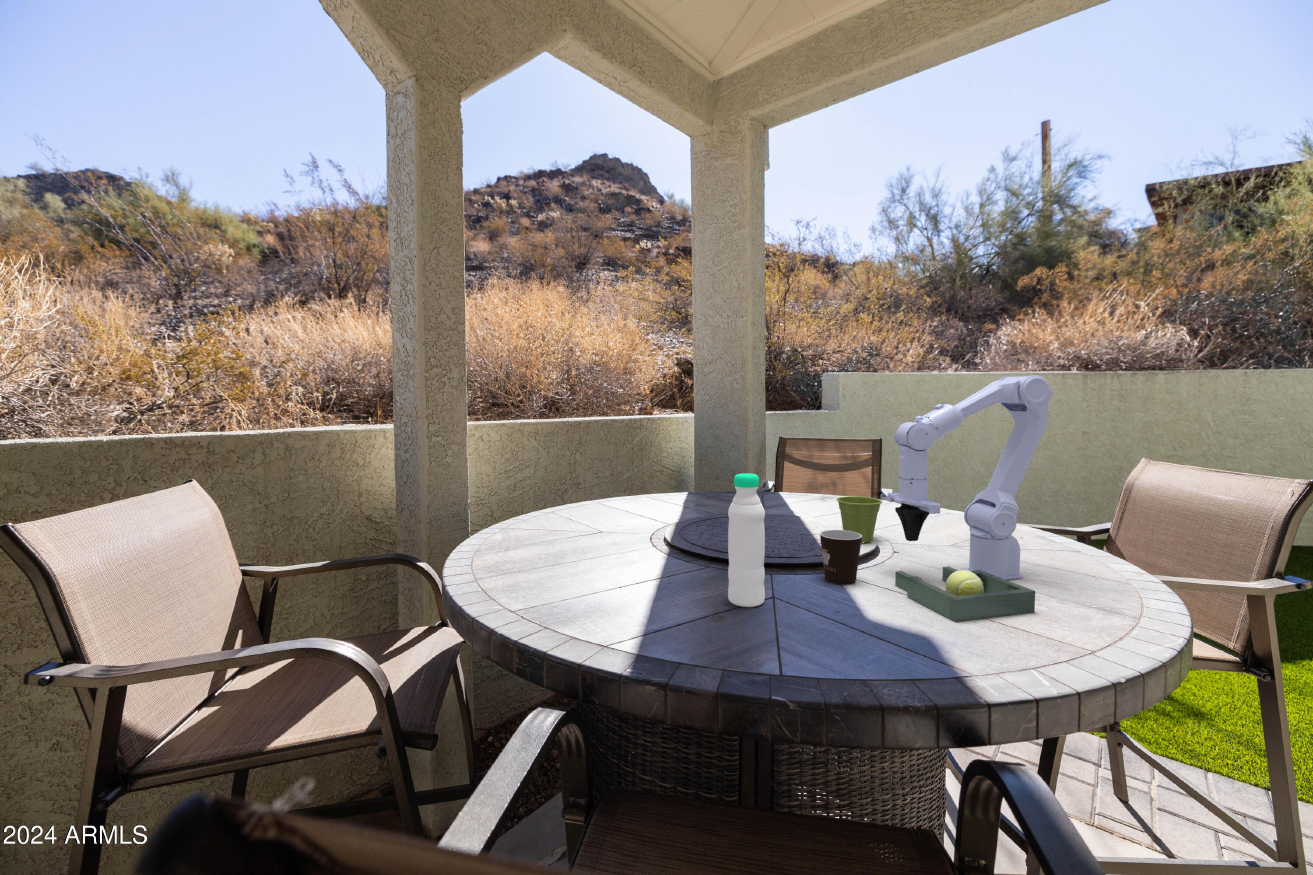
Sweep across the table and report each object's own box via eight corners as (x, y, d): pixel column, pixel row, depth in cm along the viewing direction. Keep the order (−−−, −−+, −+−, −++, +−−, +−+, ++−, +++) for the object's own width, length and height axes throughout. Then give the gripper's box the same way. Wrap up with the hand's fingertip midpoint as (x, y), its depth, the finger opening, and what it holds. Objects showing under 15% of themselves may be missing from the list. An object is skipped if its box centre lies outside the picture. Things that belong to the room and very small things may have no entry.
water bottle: (767, 597, 116) (767, 472, 114) (761, 609, 109) (762, 477, 107) (732, 593, 118) (732, 471, 116) (724, 605, 112) (724, 476, 110)
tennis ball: (990, 573, 108) (968, 562, 115) (955, 579, 108) (936, 568, 115) (993, 606, 109) (971, 593, 116) (959, 612, 109) (939, 599, 115)
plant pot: (888, 546, 153) (889, 503, 152) (843, 546, 153) (843, 504, 152) (872, 535, 164) (873, 495, 164) (830, 535, 165) (830, 495, 164)
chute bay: (956, 579, 126) (956, 561, 125) (1034, 612, 107) (1035, 590, 106) (886, 586, 122) (887, 567, 121) (955, 621, 103) (955, 599, 102)
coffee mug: (864, 587, 121) (864, 540, 120) (820, 585, 122) (821, 538, 122) (856, 570, 132) (857, 527, 131) (817, 569, 134) (817, 526, 133)
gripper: (876, 474, 131) (875, 533, 132) (919, 484, 117) (918, 550, 118) (903, 472, 133) (902, 531, 134) (949, 482, 119) (948, 547, 120)
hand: (911, 540), depth 126 cm, fingers closed
